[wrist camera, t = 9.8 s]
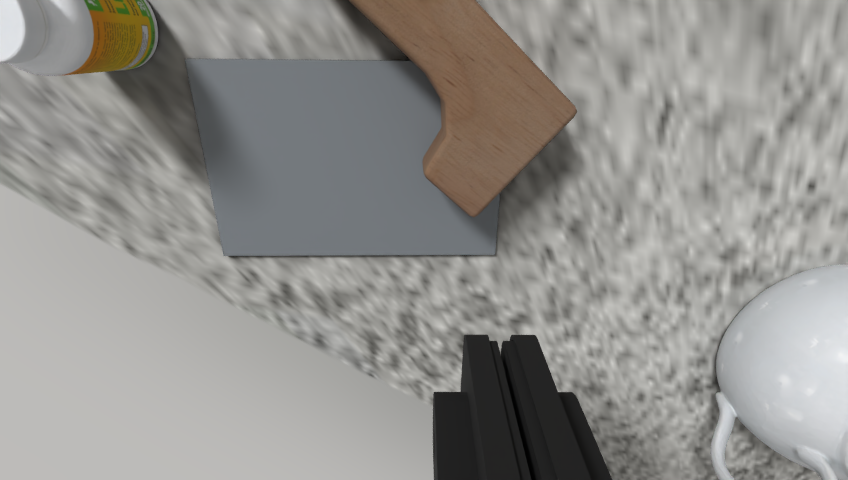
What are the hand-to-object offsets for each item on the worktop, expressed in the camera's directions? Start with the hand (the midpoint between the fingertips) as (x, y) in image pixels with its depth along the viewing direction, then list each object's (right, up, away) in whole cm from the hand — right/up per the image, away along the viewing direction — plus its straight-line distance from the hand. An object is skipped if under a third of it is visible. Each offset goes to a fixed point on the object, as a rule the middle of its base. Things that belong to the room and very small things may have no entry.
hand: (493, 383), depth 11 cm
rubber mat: (-7, +9, +21) cm, 24 cm away
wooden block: (+5, +8, +18) cm, 21 cm away
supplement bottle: (-21, +17, +17) cm, 32 cm away
